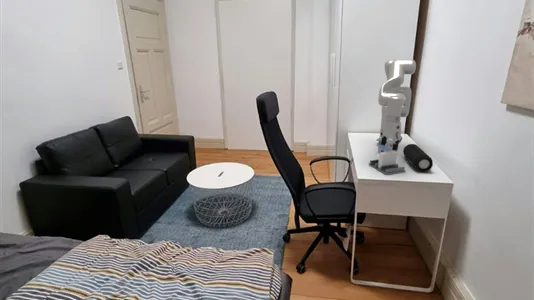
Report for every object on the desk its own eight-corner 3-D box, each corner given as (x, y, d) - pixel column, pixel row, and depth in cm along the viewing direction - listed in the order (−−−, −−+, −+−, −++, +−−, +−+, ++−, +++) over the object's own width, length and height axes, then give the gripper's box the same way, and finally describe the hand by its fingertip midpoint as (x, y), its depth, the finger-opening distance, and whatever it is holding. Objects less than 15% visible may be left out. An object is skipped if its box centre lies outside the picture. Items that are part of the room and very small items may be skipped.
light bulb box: (377, 152, 199) (379, 137, 195) (382, 150, 203) (384, 135, 199) (392, 156, 191) (394, 140, 187) (397, 154, 195) (399, 138, 191)
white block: (392, 164, 174) (394, 150, 172) (395, 166, 172) (397, 152, 169) (377, 166, 172) (379, 152, 169) (381, 168, 169) (383, 154, 166)
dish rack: (368, 164, 177) (369, 160, 176) (386, 162, 181) (387, 157, 180) (385, 175, 163) (386, 170, 162) (405, 172, 167) (405, 167, 166)
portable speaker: (432, 173, 165) (435, 157, 162) (414, 172, 166) (416, 156, 163) (417, 157, 189) (419, 142, 185) (401, 157, 190) (403, 142, 187)
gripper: (409, 121, 155) (405, 151, 161) (388, 114, 171) (384, 141, 177) (398, 122, 153) (393, 153, 159) (377, 115, 169) (374, 143, 175)
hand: (389, 147), depth 168 cm, fingers open, 9 cm apart
